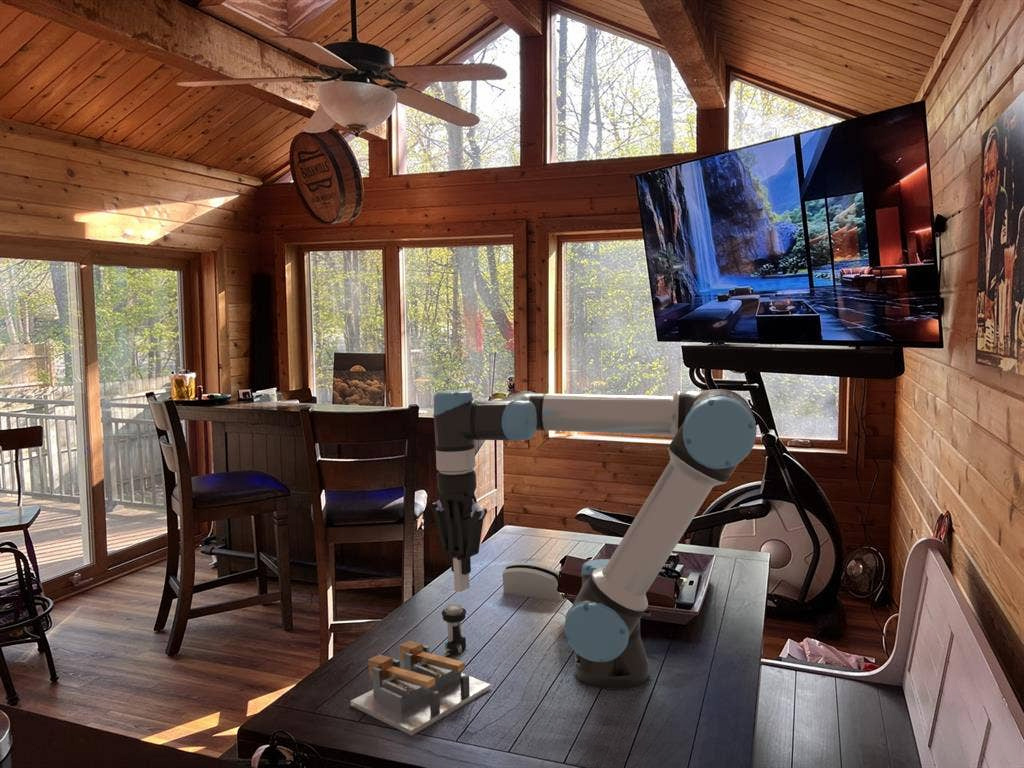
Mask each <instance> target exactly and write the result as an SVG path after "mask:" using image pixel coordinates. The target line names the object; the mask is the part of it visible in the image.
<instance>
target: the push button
mask: <svg viewBox="0 0 1024 768" xmlns="http://www.w3.org/2000/svg"><path fill="white" fill-rule="evenodd" d="M466 614H467V610H466V609H465V608H463V606H462V605H460V604H457V603H456V604H455V603H454V604H453V603H451V604H449V605H447V606H446V607H445V609H443V610H442V611H441V616H442V621H444V622H446V624H447V641H445V643H444V647H445V648H444V650H442V653H443V655H442V656H443V657H447V656H451V657H453V656H454V655H457V654H458V653H462V652H463V651H464V650H466V648H467V640H466V639H467V637H464V636H463V635H462V622H463V621H464V620H465V619H466ZM462 650H463V651H462Z"/></svg>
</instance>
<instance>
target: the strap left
mask: <svg viewBox="0 0 1024 768" xmlns="http://www.w3.org/2000/svg"><path fill="white" fill-rule="evenodd" d="M393 658H394V657H390V656H386V655H384V654H383V655H382V654H377V655H375V656H373V657H370V658H368V669H369V670H368V671H369V677H370V678H373V672H372V668H373V667H375V666H376V667H378V668H381V669H382V672H383V680H387V679H391V678H394V679H397V680H401V681H404V682H407V683H411V684H414V685H417V686H421V687H424V688H430V687H431V686H433V685H435V678H434V677H430V676H426V675H423V674H419V673H416V672H412V671H409V670H405V669H404V668H401V667H400V668H398V667H394V666H393Z"/></svg>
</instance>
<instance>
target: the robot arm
mask: <svg viewBox="0 0 1024 768" xmlns="http://www.w3.org/2000/svg"><path fill="white" fill-rule="evenodd" d="M432 417H433V423H434V424H433V425H434V438H435V439H434V441H435V459H436V461H435V462H436V463H435V465H436V466H435V467H436V470H437V471H438V472H437V473H436V479H437V480H436V482H437V490H438V492H439V493H440V494H439V497H438V500H436V501H435V502H433V503H430V510H431V511H432V514H433V516H434V519H435V524H436V528H437V533H438V537H439V541H440V546H441V549H442V550H441V551H442V552H443V553H447V554H449V557H450V565H451V572H452V573H453V582H454V592H458V593H461V592H463V591H465V590H467V589H469V588H470V574H471V571H472V566H471V559H472V558H471V557H474V556H476V555H478V554H479V553H480V546H481V538H482V534H483V533H482V532H483V527H484V520H485V517H486V516H487V514H488V509H487V507H481V506H480V505H479V504H478V503H477V502H478V501H477V498H476V495H475V492H476V489H477V471H475V468H476V453H475V452H476V449H475V448H476V446H475V441H511V442H518V441H528V440H532V439H533V438H534V437H535V433H536V431H537V432H538V431H540V432H541V431H545V432H546V431H552V432H553V431H555V432H581V433H604V434H626V435H627V434H628V435H630V434H631V435H654V436H656V435H657V436H672V437H673V439H672V440H671V442H670V443H669V445H668V447H667V451H668V454H669V457H670V458H669V459H670V460H669V462H668V464H667V465H666V466H665V469H664V470H663V472H662V474H661V475H660V477H659V478H658V480H657V482H656V483H655V485H654V486H653V488H652V490H651V492H650V493H649V495H648V497H646V500H645V502H644V503H643V504H642V506H641V508H640V510H639V511H638V513H637V515H635V518H634V519H633V521H632V522H631V524H630V525H629V528H628V529H627V531H626V533H625V534H624V536H623V538H622V539H621V540H620V542H619V544H618V546H617V547H616V549H615V550H614V552H613V554H612V555H611V557H610V559H609V558H607V559H606V558H605V559H604V558H599V559H593V560H588V561H586V562H584V563H583V564H582V566H581V567H582V568H581V573H580V576H581V588H580V589H579V591H578V594H577V596H576V598H575V600H574V601H573V604H572V605H571V607H570V608H569V609H568V610H567V613H566V614H565V621H564V627H563V628H564V634H565V637H566V639H567V643H568V644H569V646H570V647H571V649H572V650H573V651H574V652H575V653H576V655H575V658H574V673H575V675H576V677H577V678H578V680H580V681H581V682H583V683H585V684H587V685H588V686H592V687H595V688H599V689H604V690H625V689H631V688H633V687H637V686H640V685H642V684H643V683H645V682H646V681H647V679H648V678H649V677H650V661H649V659H648V657H647V653H646V650H645V646H644V644H643V640H642V638H641V618H642V617H643V615H644V613H645V612H646V610H647V609H648V606H649V602H648V598H647V595H646V594H647V592H648V591H649V589H650V587H651V586H652V584H653V583H654V581H655V579H656V578H657V577H658V575H659V573H660V571H662V569H663V567H664V565H665V564H666V562H667V560H668V559H669V557H670V556H671V554H672V553H673V551H674V549H675V548H676V546H678V543H680V540H681V539H682V537H683V535H684V534H685V532H686V531H687V529H688V527H689V526H690V524H691V522H692V521H693V519H694V518H695V516H696V515H697V513H698V511H699V510H700V508H702V505H703V504H704V502H705V500H706V499H707V497H708V495H710V492H711V491H712V489H713V488H714V487H715V486H719V485H724V484H727V483H728V480H729V479H730V478H731V476H732V474H733V473H734V472H735V470H736V468H737V467H738V465H739V464H740V463H741V462H743V461H744V460H745V458H747V457H748V456H749V454H750V453H751V451H752V450H753V448H754V445H755V444H756V439H757V430H758V429H757V424H756V420H755V417H754V414H753V410H752V408H751V405H750V404H749V403H748V402H747V400H746V399H745V397H743V396H741V395H740V394H738V393H737V392H735V391H732V390H729V389H724V388H723V389H722V388H720V389H719V388H717V389H715V388H714V389H707V390H693V391H692V390H689V391H688V390H687V391H686V390H679V391H677V392H676V393H674V394H673V395H670V396H669V395H636V394H635V395H632V394H630V395H628V394H627V395H626V394H623V395H622V394H621V395H620V394H589V393H588V394H583V393H582V394H581V393H579V394H578V393H537V392H534V391H531V390H530V391H529V390H524V391H522V390H520V391H518V392H515V393H513V394H512V395H510V396H507V397H505V398H503V399H500V400H475V399H474V397H473V392H472V391H471V390H469V389H447V390H446V389H445V390H441V391H438V392H436V393H435V394H434V397H433V415H432Z"/></svg>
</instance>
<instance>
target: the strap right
mask: <svg viewBox="0 0 1024 768" xmlns="http://www.w3.org/2000/svg"><path fill="white" fill-rule="evenodd" d="M423 644H424V643H422V642H421V643H420V642H417V641H413V640H407V641H405V642H403V643H401V644H399V645H398V650H399V657H400V659H399V660H400V663H404V653H405V652H409V653H411V654H413V657H414V665H415V664H417V665H419V664H420V662H422V663H426V664H430V665H433V666H437V667H441V668H444V669H448V670H452V671H456V672H460V671H461V672H462V671H464V669H466V662H465V661H462V660H458V659H454V658H451V657H447V656H443V655H438V654H434V653H427V652H423Z"/></svg>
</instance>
